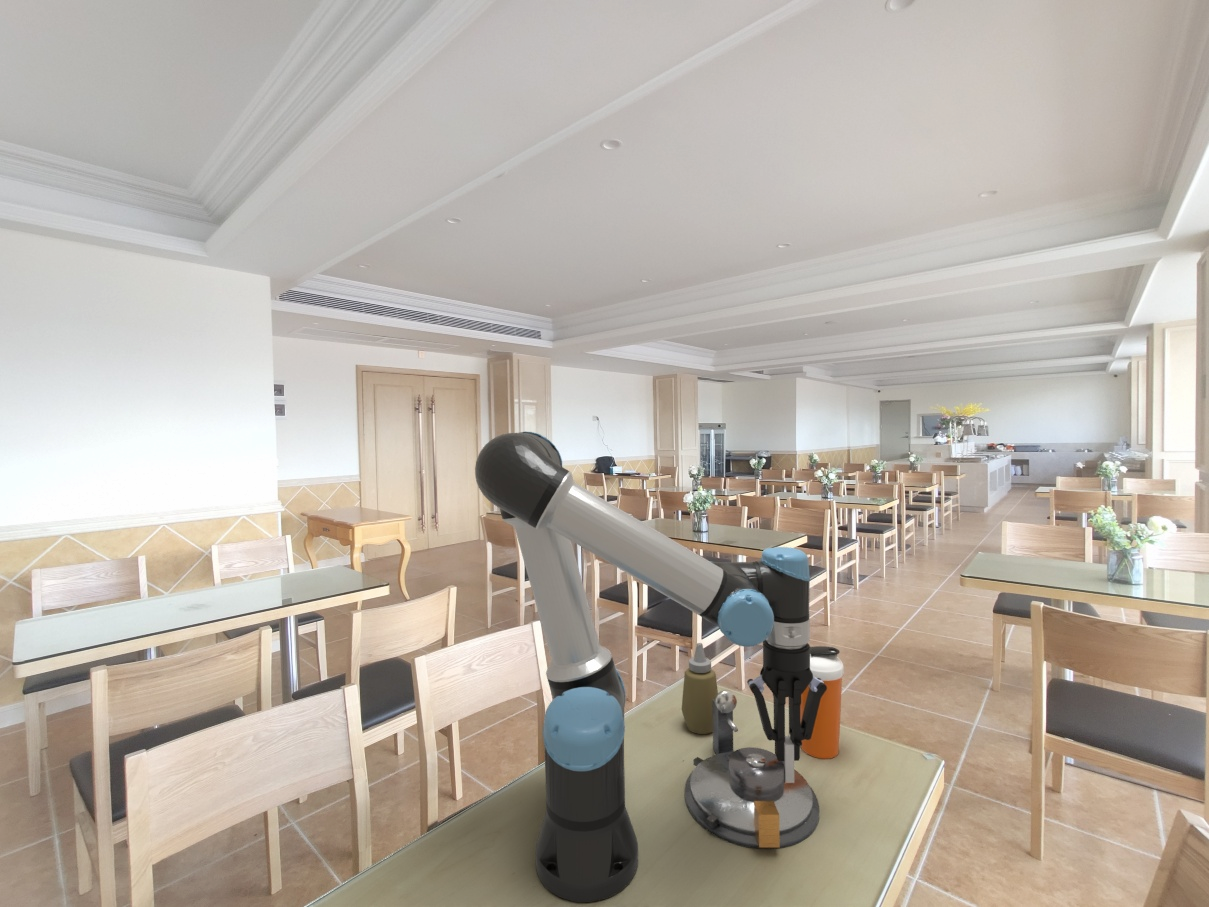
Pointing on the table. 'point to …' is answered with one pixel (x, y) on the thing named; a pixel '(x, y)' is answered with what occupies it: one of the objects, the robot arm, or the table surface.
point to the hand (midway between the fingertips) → (787, 777)
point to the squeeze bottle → (699, 693)
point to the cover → (756, 774)
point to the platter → (748, 803)
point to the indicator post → (723, 721)
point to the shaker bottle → (825, 703)
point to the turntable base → (751, 840)
